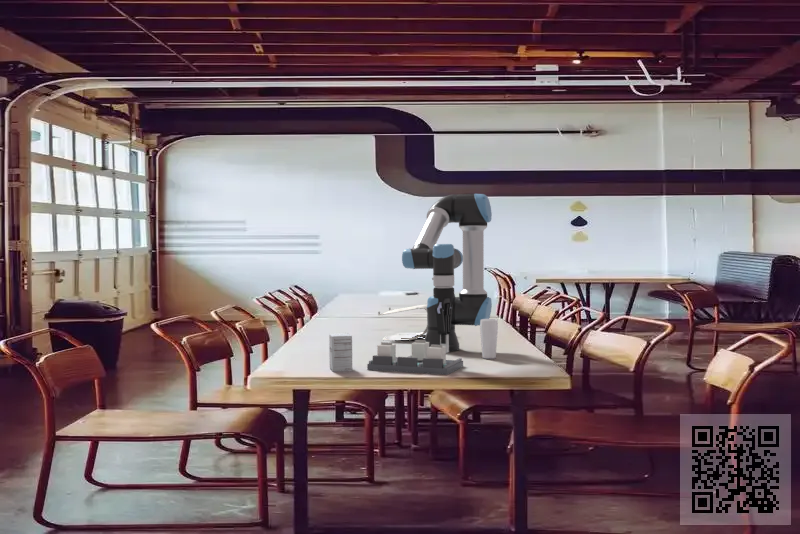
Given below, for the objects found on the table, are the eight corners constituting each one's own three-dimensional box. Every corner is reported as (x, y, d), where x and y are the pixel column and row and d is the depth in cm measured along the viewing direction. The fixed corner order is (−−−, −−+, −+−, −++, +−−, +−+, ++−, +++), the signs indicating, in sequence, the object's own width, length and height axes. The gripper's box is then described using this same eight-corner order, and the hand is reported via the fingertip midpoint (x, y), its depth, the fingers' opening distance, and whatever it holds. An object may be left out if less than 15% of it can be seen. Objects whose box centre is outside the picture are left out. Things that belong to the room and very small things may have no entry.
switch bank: (387, 361, 284) (386, 348, 284) (463, 366, 273) (463, 352, 272) (367, 369, 267) (367, 355, 267) (447, 374, 256) (447, 360, 256)
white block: (383, 360, 273) (382, 341, 272) (395, 360, 271) (395, 342, 271) (377, 362, 268) (377, 343, 268) (390, 362, 266) (390, 343, 266)
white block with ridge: (416, 357, 278) (416, 339, 277) (429, 358, 276) (429, 339, 276) (411, 359, 273) (411, 341, 273) (424, 360, 271) (424, 341, 271)
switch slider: (432, 362, 266) (432, 343, 265) (445, 363, 264) (445, 344, 263) (427, 365, 261) (427, 345, 261) (441, 365, 259) (441, 346, 259)
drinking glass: (490, 360, 286) (490, 320, 285) (476, 358, 291) (476, 319, 290) (501, 358, 291) (501, 319, 290) (487, 356, 295) (487, 318, 295)
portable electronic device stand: (428, 342, 339) (427, 307, 339) (377, 340, 345) (377, 307, 344) (438, 335, 364) (437, 303, 364) (390, 334, 369) (390, 302, 369)
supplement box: (329, 368, 271) (328, 333, 270) (349, 367, 272) (349, 332, 272) (332, 372, 263) (331, 336, 263) (352, 371, 265) (352, 335, 265)
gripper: (439, 285, 277) (440, 348, 278) (427, 288, 264) (428, 354, 266) (459, 285, 274) (460, 349, 275) (448, 288, 262) (448, 355, 263)
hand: (444, 352), depth 270 cm, fingers closed
